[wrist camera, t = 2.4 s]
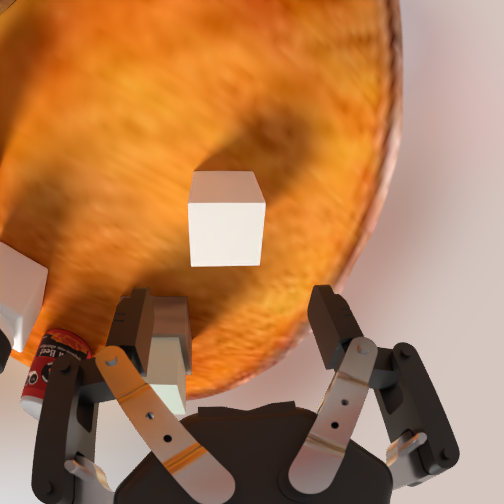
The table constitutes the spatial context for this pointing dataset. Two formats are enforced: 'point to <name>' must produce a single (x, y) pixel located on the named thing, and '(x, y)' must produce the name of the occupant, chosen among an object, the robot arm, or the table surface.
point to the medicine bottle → (18, 299)
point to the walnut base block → (173, 324)
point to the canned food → (49, 366)
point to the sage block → (167, 373)
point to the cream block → (225, 218)
